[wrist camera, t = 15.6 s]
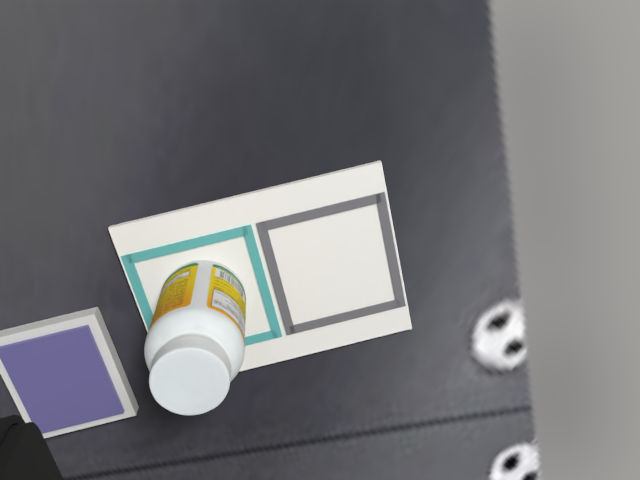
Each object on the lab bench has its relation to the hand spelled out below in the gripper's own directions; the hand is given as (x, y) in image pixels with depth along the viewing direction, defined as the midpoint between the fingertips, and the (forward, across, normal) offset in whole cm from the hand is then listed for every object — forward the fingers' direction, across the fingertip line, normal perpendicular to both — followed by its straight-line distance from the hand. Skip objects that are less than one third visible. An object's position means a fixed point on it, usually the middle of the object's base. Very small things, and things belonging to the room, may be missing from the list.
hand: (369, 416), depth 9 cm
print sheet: (+29, +3, +11) cm, 31 cm away
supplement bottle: (+29, +7, +11) cm, 32 cm away
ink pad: (+29, +17, +15) cm, 37 cm away
